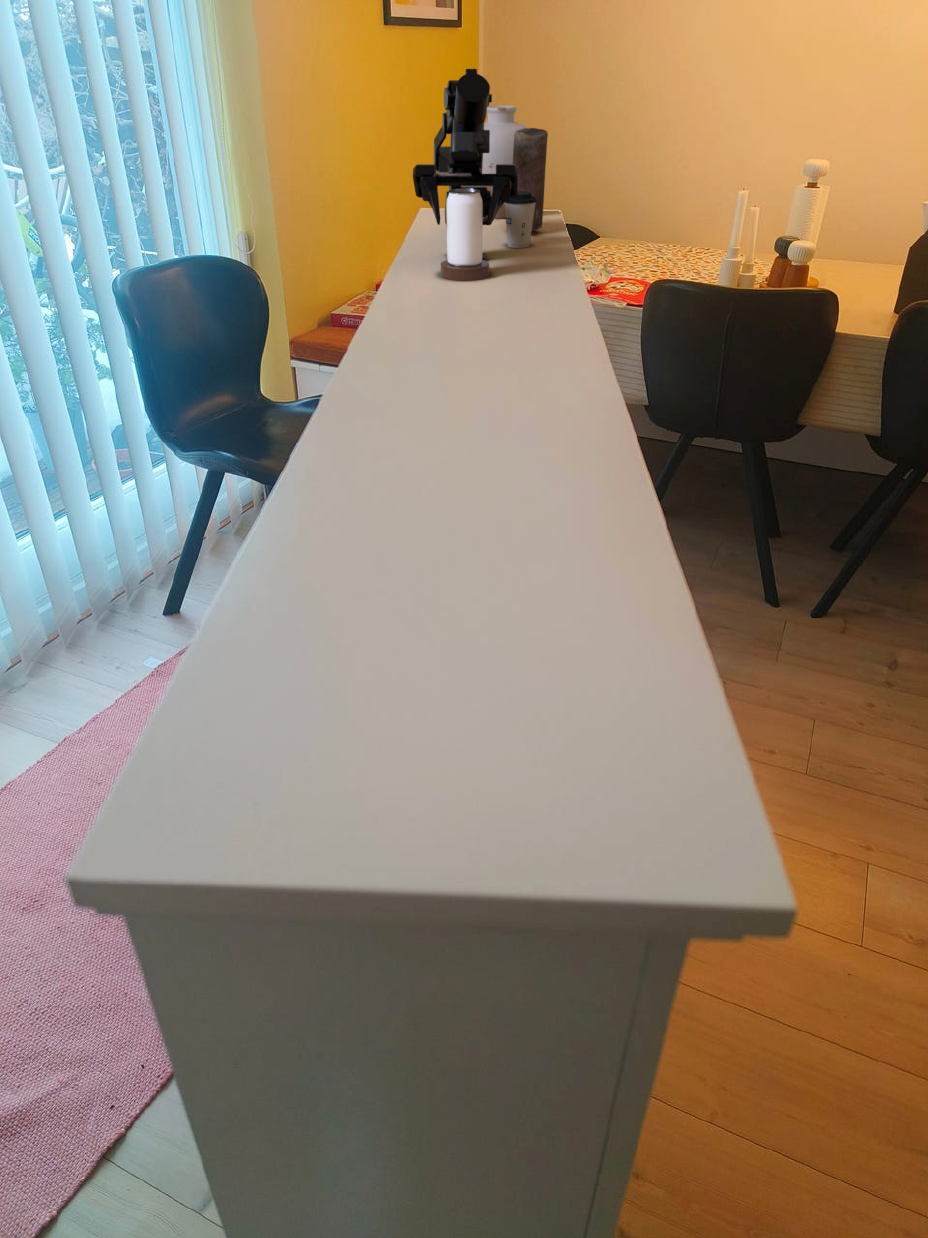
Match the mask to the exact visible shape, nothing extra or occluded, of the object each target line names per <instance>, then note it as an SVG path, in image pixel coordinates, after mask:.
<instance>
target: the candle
mask: <svg viewBox="0 0 928 1238" xmlns="http://www.w3.org/2000/svg"><path fill="white" fill-rule="evenodd" d="M548 136H549V133H548V131H547V130H546V129H544V128H543V129H542V128H536V127H527V128H523V129H520V130H517V131H516V132H515V133H514V147H513V164H515V165H516V166H517V167H518V191H527V192H531V193H532V196H533V197H535V198H536V201H537V202H535V209H534V216H533V223H532V230H531V233H533V232H534V231H537V230H539V229H542V228H543V219H544V205H545V182H546V181H545V180H546V166H547V154H548V153H547V151H548V149H547V148H548Z"/></svg>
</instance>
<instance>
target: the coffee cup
mask: <svg viewBox="0 0 928 1238" xmlns="http://www.w3.org/2000/svg"><path fill="white" fill-rule="evenodd" d="M535 202H537V201H536V198H535V197H533V196H532V193H531V192H527V191H518V195H517V197H515V198H510V201H507V202H504V207H505V218H504V219H505V227H506V228H505V229H506V240H507V241H506V242H507V247H509V248H514V249H523V248H529V247H530V244H531V237H532V232H531V230H532V223H533V216H534V209H535Z"/></svg>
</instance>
